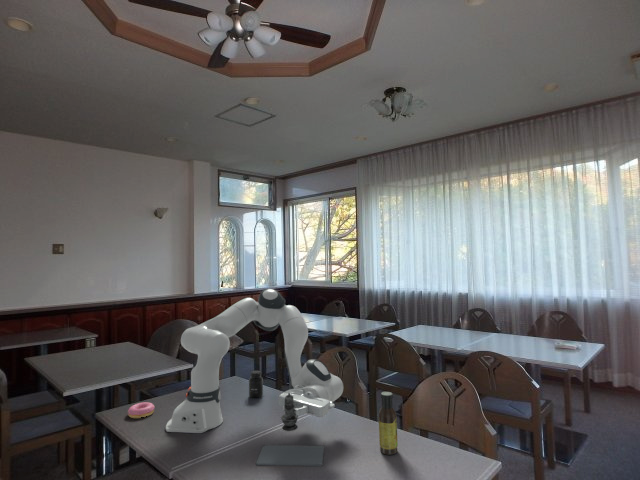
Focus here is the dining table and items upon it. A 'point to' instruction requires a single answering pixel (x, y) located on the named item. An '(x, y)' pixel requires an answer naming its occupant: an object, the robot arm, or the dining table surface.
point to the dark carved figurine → (289, 415)
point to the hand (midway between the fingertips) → (289, 411)
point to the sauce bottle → (387, 425)
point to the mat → (291, 455)
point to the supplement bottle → (255, 385)
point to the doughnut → (141, 410)
